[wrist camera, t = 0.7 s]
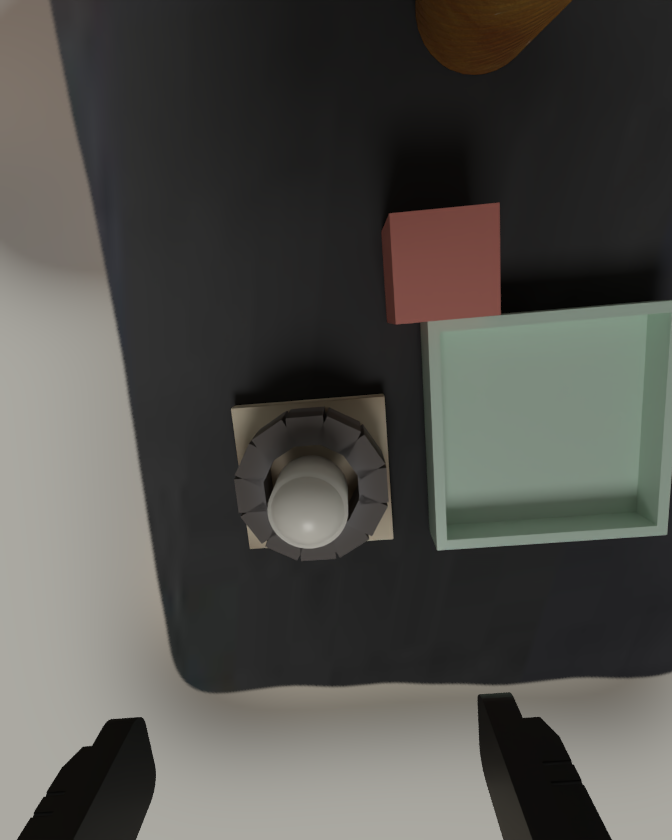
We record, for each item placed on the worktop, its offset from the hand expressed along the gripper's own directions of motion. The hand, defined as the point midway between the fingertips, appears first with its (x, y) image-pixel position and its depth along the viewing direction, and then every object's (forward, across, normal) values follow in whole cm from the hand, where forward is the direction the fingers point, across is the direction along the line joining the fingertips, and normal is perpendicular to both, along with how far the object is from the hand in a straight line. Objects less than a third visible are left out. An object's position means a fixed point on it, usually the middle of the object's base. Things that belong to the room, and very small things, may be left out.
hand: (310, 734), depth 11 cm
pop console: (+19, +1, 0) cm, 19 cm away
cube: (+19, -7, -11) cm, 23 cm away
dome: (+15, +1, 0) cm, 16 cm away
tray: (+19, -12, -2) cm, 23 cm away
